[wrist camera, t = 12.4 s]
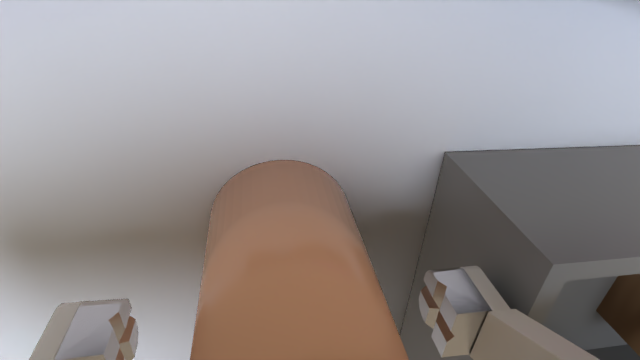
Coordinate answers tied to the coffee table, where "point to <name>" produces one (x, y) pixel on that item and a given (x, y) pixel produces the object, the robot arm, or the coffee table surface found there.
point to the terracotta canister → (289, 273)
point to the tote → (536, 237)
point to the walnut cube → (624, 309)
